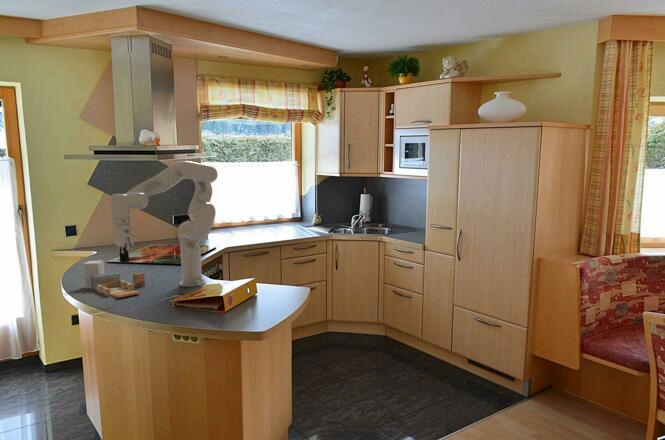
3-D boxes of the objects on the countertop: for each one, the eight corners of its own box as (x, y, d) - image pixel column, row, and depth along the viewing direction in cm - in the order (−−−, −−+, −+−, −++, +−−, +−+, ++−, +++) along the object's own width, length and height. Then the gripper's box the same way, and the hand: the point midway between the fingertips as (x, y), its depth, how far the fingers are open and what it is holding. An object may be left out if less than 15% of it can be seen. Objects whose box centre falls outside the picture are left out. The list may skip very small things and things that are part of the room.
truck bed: (134, 292, 237) (133, 278, 236) (108, 298, 229) (107, 283, 228) (116, 285, 252) (115, 271, 251) (91, 290, 243) (90, 276, 242)
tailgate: (132, 292, 236) (140, 293, 230) (111, 296, 229) (118, 297, 223) (131, 290, 236) (139, 291, 230) (110, 294, 229) (118, 295, 223)
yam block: (145, 287, 247) (144, 273, 246) (137, 289, 244) (136, 275, 243) (141, 286, 250) (140, 272, 249) (133, 287, 247) (132, 273, 246)
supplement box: (106, 284, 254) (104, 260, 253) (99, 288, 247) (97, 263, 245) (91, 284, 254) (89, 260, 252) (84, 288, 247) (82, 263, 245)
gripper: (137, 221, 221) (140, 262, 224) (122, 219, 232) (125, 258, 235) (120, 223, 216) (123, 265, 218) (106, 221, 227) (109, 260, 229)
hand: (124, 261), depth 226 cm, fingers closed
